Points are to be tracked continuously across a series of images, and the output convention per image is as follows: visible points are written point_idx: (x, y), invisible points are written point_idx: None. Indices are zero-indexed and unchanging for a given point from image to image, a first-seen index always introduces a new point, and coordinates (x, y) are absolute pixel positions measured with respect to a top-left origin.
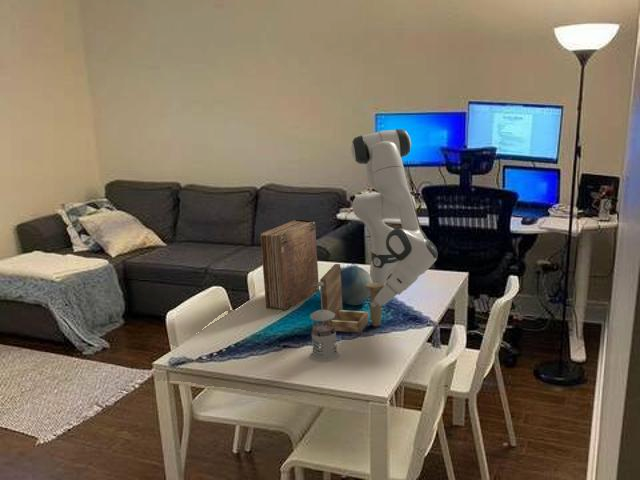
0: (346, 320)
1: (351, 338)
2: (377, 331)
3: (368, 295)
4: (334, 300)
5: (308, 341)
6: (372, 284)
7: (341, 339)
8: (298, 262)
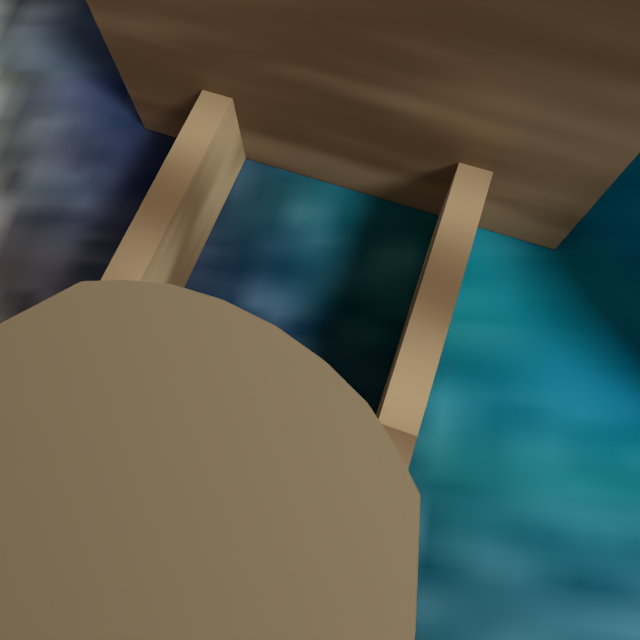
0: (421, 271)
1: (5, 285)
2: None
3: None
4: None
5: (65, 7)
6: (139, 603)
7: (15, 209)
8: None
